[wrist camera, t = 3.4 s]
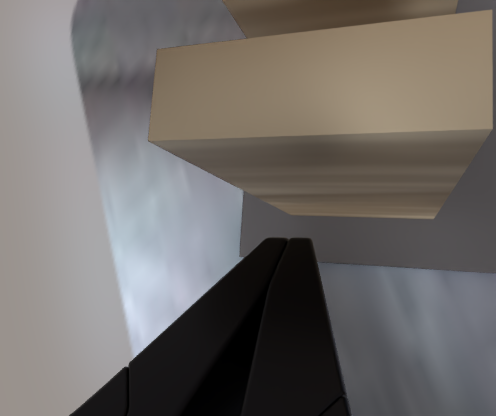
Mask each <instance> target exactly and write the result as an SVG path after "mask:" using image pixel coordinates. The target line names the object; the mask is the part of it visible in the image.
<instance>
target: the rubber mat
mask: <svg viewBox="0 0 496 416" xmlns="http://www.w3.org/2000/svg"><path fill="white" fill-rule="evenodd" d="M484 10H492V62H493V129H492V131H491V132H490V134H489V135H488V137H487V138H486V140H485V141H484V143H483V144H482V146H481V148H480V149H479V151H478V152H477V154H476V155H475V157H474V158H473V160H472V161H471V163H470V164H469V166H468V167H467V169H466V170H465V172H464V173H463V175H462V177H461V178H460V180H459V181H458V183H457V184H456V186H455V187H454V189H453V190H452V192H451V193H450V195H449V196H448V198H447V199H446V201H445V202H444V204H443V206H442V207H441V209H440V210H439V212H438V213H437V215H436V216H435V218H434V219H407V218H371V217H336V216H300V215H290V214H288V213H286V212H284V211H282V210H280V209H278V208H276V207H274V206H273V205H271V204H269V203H267V202H265V201H263V200H261V199H259V198H257V197H255V196H253V195H251V194H249V193H247V192H245V191H244V197H243V212H242V226H241V241H240V255H239V257H246V256H247V255H248V254H249V253H250V252H251V251H252V250H253V249H254V248H255V247H256V246H258V245H259V244H260V243H261V242H262V241H263V240H264V239H266V238H268V237H286V238H288V239H290V238H293V237H303V238H311V239H312V241H313V245H314V250H315V254H316V259H317V262H327V263H343V264H358V265H374V266H390V267H405V268H421V269H436V270H452V271H467V272H483V273H496V0H458V4H457V8H456V13H455V14H459V13H467V12H476V11H484Z"/></svg>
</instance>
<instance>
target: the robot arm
mask: <svg viewBox="0 0 496 416" xmlns="http://www.w3.org/2000/svg"><path fill="white" fill-rule="evenodd" d="M69 416H352V414H351V410H350V405H349V401H348V398H347V393H346V389H345V384H344V380H343V375H342V371H341V366H340V362H339V357H338V353H337V348H336V344H335V339H334V335H333V331H332V326H331V322H330V317H329V313H328V308H327V304H326V299H325V295H324V290H323V286H322V281H321V277H320V272H319V268H318V263H317V259H316V254H315V250H314V245H313V241H312V239H311V238H303V237H293V238H290V239H288V238H286V237H268V238H266V239H264V240H263V241H262V242H261V243H260V244H259V245H258V246H256V247H255V248H254V249H253V250H252V251H251V252H250V253H249V254H248V255H247V256H246V257H244V258H243V259H242V260H241V261H240V262H239V263H238V264H237V265H236V266H235V267H234V268H232V269H231V270H230V271H229V272H228V273H227V274H226V275H225V276H224V277H223V278H221V279H220V280H219V281H218V282H217V283H216V284H215V285H214V286H213V287H212V288H211V289H209V290H208V291H207V292H206V293H205V294H204V295H203V296H202V297H201V298H200V299H198V300H197V301H196V302H195V303H194V304H193V305H192V306H191V307H190V308H189V309H188V310H186V311H185V312H184V313H183V314H182V315H181V316H180V317H179V318H178V319H177V320H176V321H174V322H173V323H172V324H171V325H170V326H169V327H168V328H167V329H166V330H165V331H163V332H162V333H161V334H160V335H159V336H158V337H157V338H156V339H155V340H154V341H153V342H151V343H150V344H149V345H148V346H147V347H146V348H145V349H144V350H143V351H142V352H141V353H139V354H138V355H137V356H136V357H135V358H134V359H133V360H132V361H131V362H130V363H129V366H128V367H124V368H123V369H122V370H121V371H120V372H118V373H117V374H116V375H115V376H114V377H113V378H112V379H111V380H110V381H109V382H108V383H106V384H105V385H104V386H103V387H102V388H101V389H99V391H97V392H96V393H95V394H94V395H93V396H92V397H90V398H89V399H88V400H87V401H86V402H85V403H84V404H82V405H81V406H80V407H79V408H78V409H77V410H75V411H74V412H73V413H72V414H70V415H69Z"/></svg>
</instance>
